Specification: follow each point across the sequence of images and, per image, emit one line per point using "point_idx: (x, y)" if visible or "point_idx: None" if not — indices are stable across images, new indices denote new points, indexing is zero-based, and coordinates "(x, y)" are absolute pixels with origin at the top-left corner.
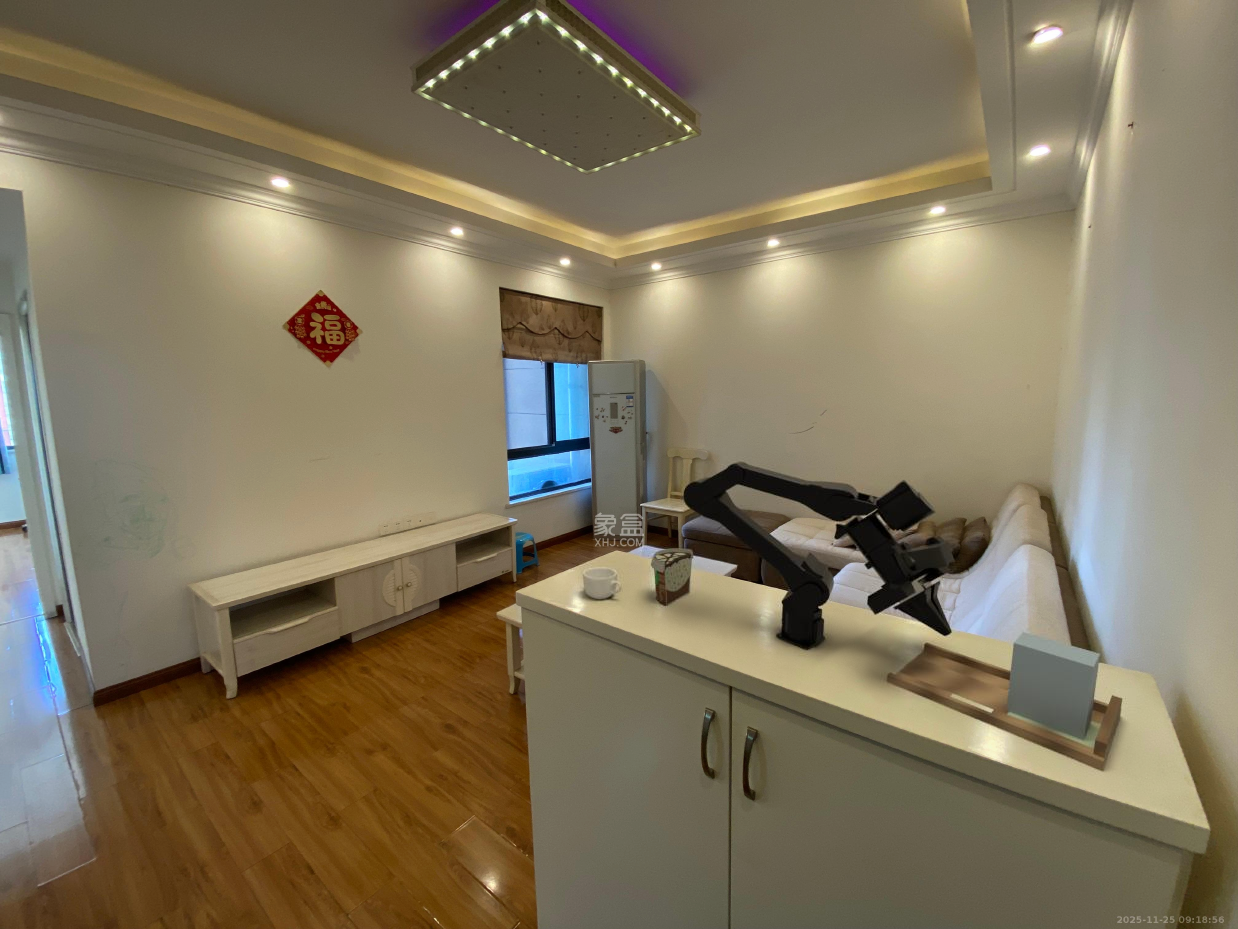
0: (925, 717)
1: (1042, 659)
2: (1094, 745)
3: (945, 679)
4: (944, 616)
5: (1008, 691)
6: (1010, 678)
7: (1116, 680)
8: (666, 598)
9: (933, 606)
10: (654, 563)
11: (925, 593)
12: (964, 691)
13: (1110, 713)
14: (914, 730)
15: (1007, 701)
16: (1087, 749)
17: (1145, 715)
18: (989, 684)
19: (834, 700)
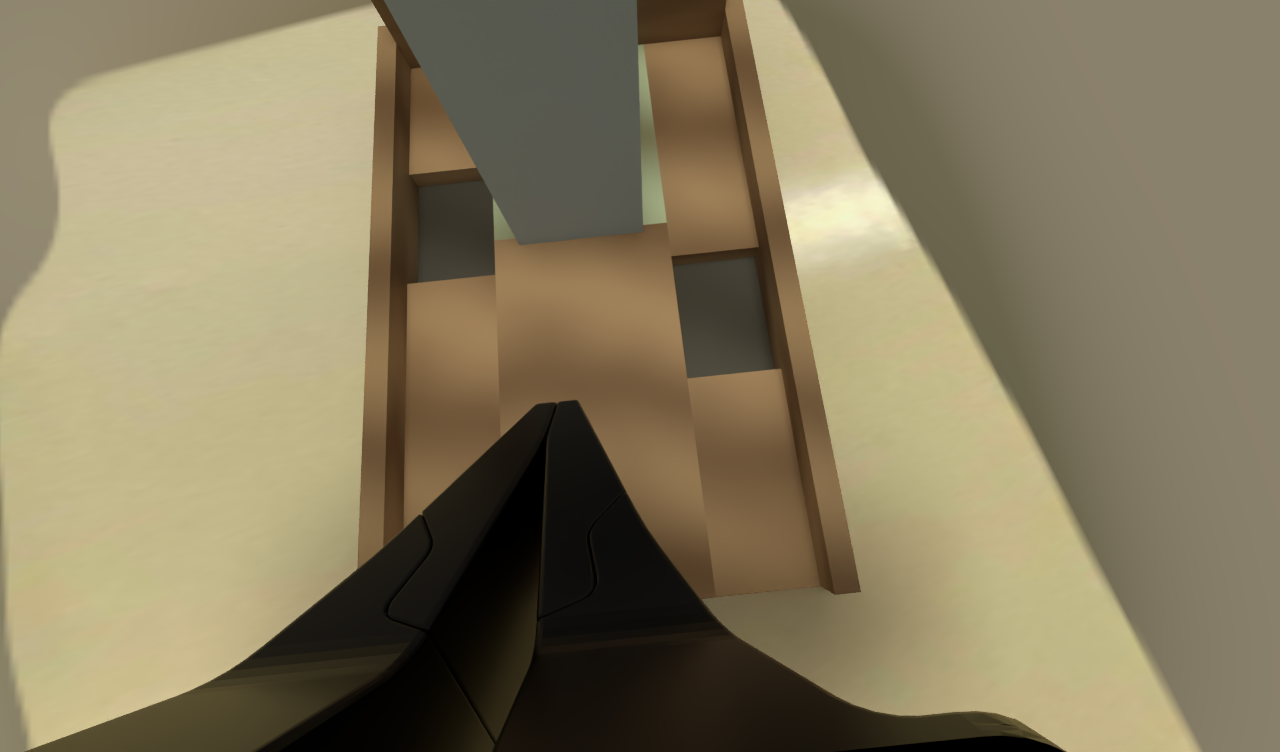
0: (882, 387)
1: None
2: None
3: (604, 440)
4: (483, 469)
5: (640, 187)
6: (638, 143)
7: (97, 134)
8: None
9: (582, 556)
10: None
11: (946, 721)
12: (637, 358)
13: None
14: (988, 373)
15: (640, 212)
16: (664, 54)
17: (296, 49)
18: (501, 326)
19: (1125, 659)
